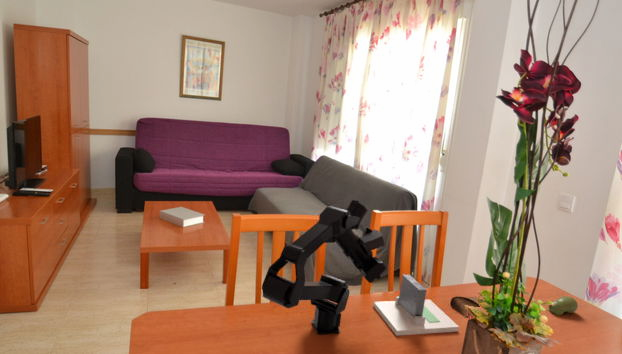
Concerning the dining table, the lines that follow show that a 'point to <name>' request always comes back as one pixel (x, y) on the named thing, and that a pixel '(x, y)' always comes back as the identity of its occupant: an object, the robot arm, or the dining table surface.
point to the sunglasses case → (461, 301)
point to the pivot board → (415, 318)
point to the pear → (563, 305)
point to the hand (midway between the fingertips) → (379, 278)
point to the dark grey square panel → (412, 296)
